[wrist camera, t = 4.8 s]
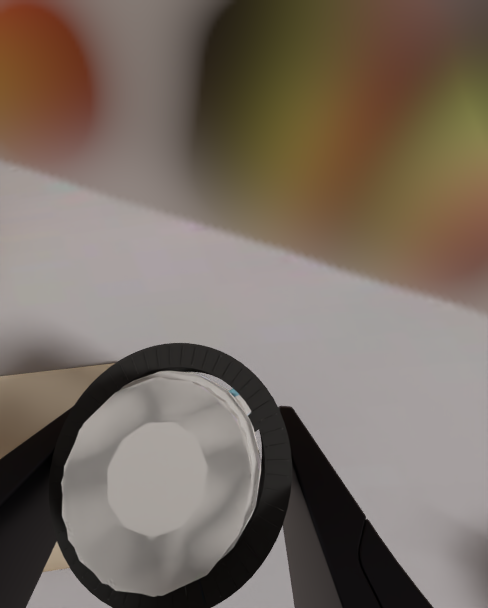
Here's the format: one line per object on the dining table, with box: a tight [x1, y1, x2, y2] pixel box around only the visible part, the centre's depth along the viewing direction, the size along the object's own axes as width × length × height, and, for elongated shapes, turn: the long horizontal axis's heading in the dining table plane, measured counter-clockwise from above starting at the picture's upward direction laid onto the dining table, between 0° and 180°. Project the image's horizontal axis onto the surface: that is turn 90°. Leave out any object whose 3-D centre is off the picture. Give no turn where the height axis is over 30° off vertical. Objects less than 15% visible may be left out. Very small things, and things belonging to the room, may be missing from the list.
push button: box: [49, 343, 292, 608], centre depth 10 cm, size 7×5×10 cm
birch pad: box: [0, 363, 115, 572], centre depth 16 cm, size 10×10×1 cm
